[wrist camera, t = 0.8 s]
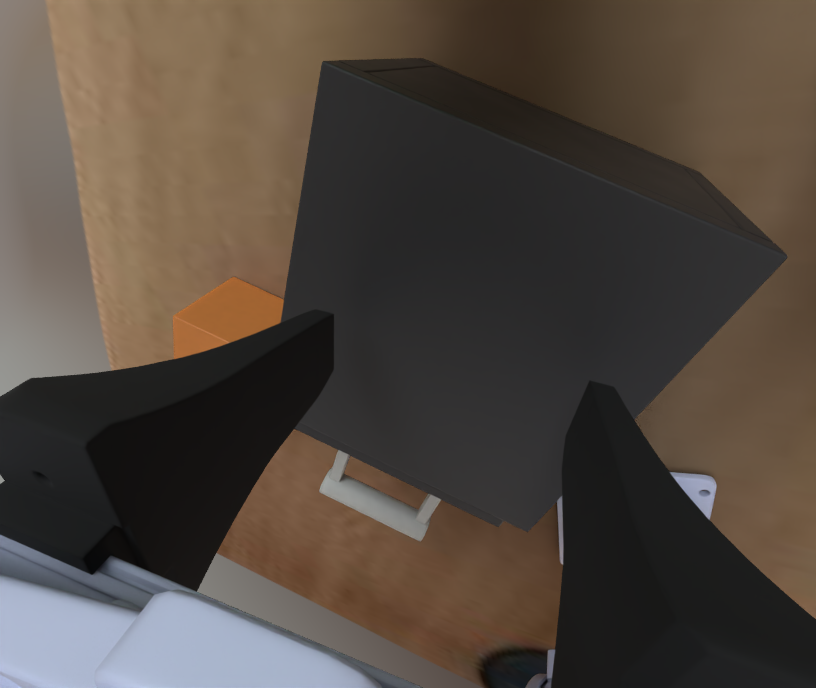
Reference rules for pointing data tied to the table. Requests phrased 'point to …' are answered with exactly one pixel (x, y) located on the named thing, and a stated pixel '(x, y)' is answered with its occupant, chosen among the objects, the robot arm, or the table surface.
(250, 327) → the block
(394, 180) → the charcoal grey pedestal
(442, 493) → the dark grey drawer
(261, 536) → the table surface
